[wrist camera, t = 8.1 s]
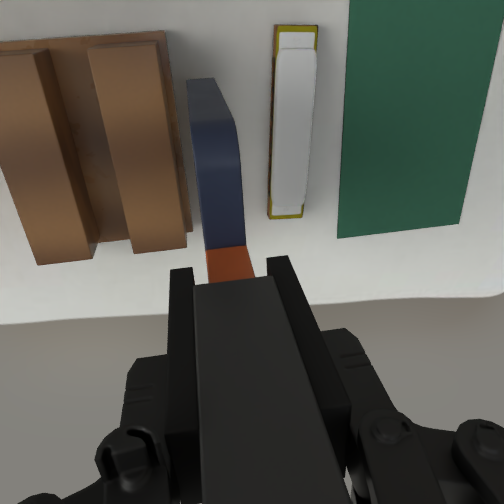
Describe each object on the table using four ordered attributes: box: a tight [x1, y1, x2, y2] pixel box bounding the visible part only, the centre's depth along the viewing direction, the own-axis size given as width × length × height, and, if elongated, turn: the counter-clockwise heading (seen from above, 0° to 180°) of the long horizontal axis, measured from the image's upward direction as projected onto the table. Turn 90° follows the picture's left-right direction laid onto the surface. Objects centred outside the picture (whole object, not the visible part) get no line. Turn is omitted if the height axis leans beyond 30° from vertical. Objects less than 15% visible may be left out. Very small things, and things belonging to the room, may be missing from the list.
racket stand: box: [0, 30, 193, 265], centre depth 30 cm, size 15×12×5 cm
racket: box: [186, 78, 352, 504], centre depth 16 cm, size 11×3×27 cm, turn 3°
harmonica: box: [267, 25, 318, 220], centre depth 33 cm, size 15×3×2 cm, turn 179°
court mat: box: [337, 0, 504, 239], centre depth 35 cm, size 12×21×1 cm, turn 3°
